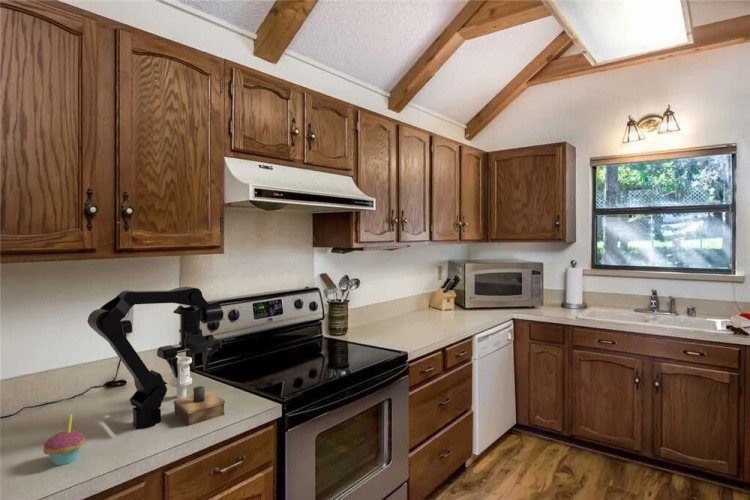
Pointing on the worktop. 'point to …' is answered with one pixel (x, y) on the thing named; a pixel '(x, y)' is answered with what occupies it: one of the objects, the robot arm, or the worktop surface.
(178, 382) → the white tall flanged cylinder
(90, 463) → the worktop surface
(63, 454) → the cupcake
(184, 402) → the lid
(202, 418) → the box
